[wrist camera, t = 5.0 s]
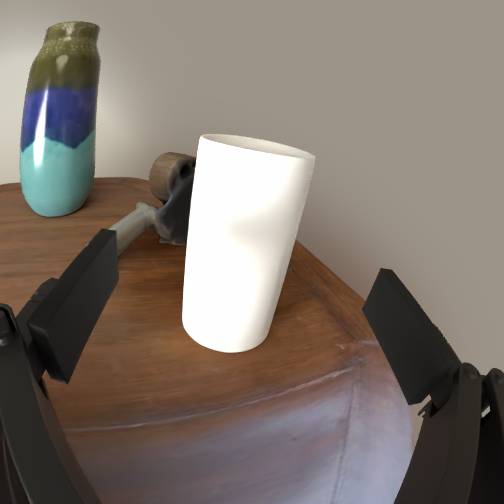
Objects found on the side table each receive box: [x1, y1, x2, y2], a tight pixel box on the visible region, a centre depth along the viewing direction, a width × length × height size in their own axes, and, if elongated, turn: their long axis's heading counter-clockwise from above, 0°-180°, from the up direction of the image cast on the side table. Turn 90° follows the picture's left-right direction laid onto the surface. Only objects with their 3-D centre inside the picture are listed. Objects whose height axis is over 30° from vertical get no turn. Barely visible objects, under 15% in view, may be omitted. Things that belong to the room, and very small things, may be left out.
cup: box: [182, 134, 316, 353], centre depth 23 cm, size 8×8×16 cm
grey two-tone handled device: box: [85, 152, 197, 257], centre depth 33 cm, size 21×6×12 cm, turn 147°
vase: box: [20, 22, 101, 217], centre depth 33 cm, size 14×14×31 cm
